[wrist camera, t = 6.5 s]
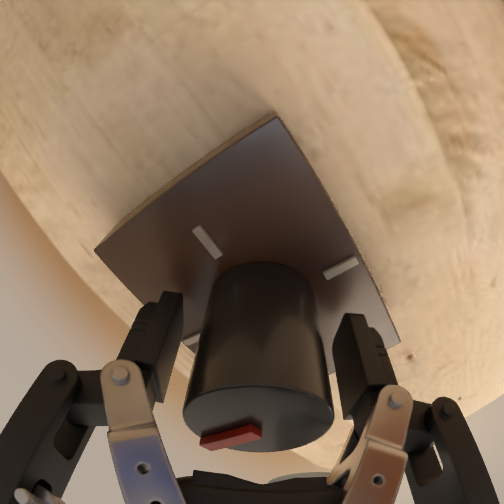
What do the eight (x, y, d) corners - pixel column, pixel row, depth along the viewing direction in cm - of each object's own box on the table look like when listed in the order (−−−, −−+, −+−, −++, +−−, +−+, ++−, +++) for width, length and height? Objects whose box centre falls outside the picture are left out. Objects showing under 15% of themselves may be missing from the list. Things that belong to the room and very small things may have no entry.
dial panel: (388, 310, 16) (402, 344, 13) (253, 370, 18) (252, 404, 16) (275, 110, 11) (277, 115, 9) (116, 225, 14) (91, 252, 11)
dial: (271, 240, 11) (274, 372, 6) (334, 313, 13) (360, 434, 8) (187, 298, 12) (149, 419, 7) (254, 355, 14) (248, 467, 9)
